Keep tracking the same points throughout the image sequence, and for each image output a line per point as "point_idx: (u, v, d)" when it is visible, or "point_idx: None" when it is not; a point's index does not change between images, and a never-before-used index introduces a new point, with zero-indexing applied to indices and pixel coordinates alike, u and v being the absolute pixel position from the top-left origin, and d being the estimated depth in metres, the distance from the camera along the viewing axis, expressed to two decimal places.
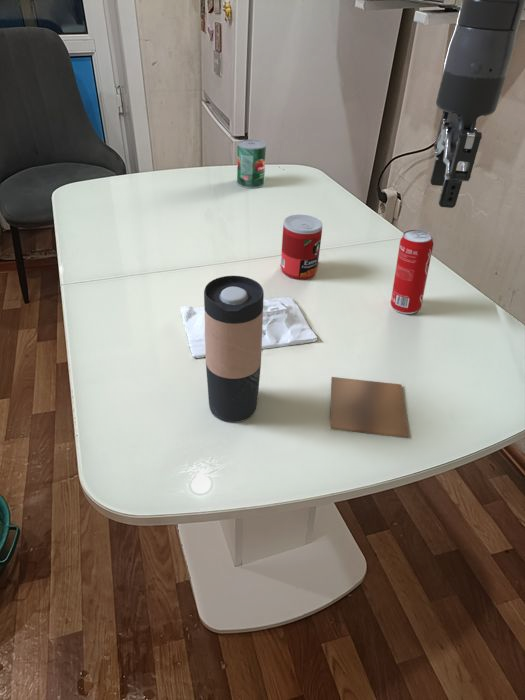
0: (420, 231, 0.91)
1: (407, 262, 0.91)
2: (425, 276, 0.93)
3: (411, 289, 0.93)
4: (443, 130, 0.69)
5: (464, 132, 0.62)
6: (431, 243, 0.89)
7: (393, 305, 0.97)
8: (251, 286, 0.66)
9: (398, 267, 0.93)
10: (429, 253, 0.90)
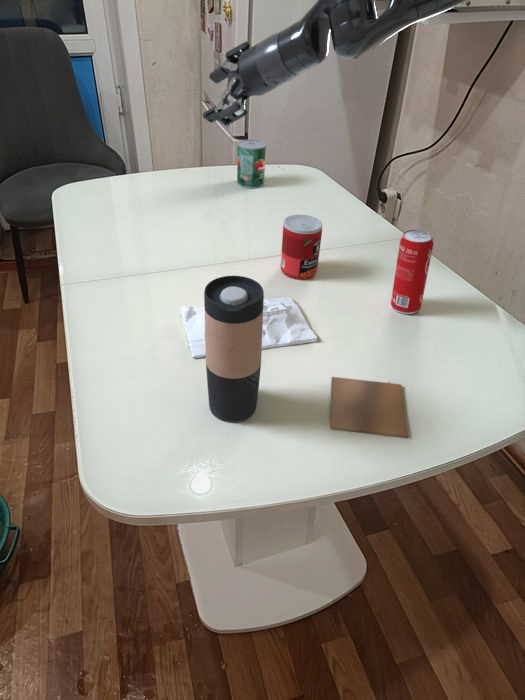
0: (420, 231, 0.91)
1: (407, 262, 0.91)
2: (425, 276, 0.93)
3: (411, 289, 0.93)
4: None
5: None
6: (431, 243, 0.89)
7: (393, 305, 0.97)
8: (251, 286, 0.66)
9: (398, 267, 0.93)
10: (429, 253, 0.90)
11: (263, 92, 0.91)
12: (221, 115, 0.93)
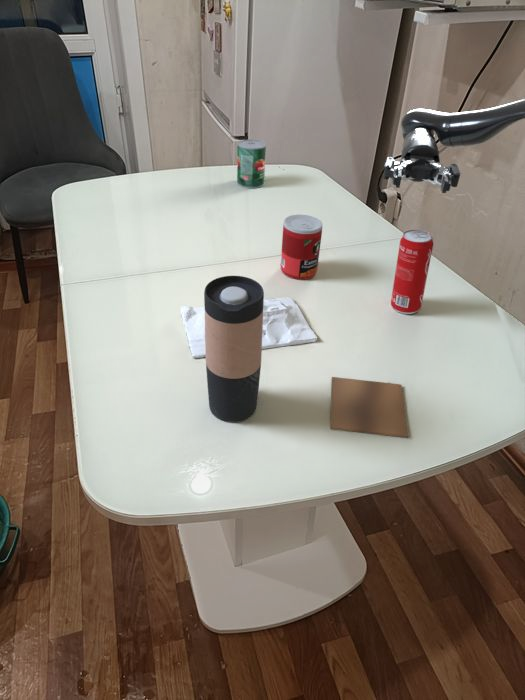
0: (420, 231, 0.91)
1: (407, 262, 0.91)
2: (425, 276, 0.93)
3: (411, 289, 0.93)
4: (418, 160, 1.01)
5: None
6: (431, 243, 0.89)
7: (393, 305, 0.97)
8: (251, 286, 0.66)
9: (398, 267, 0.93)
10: (429, 253, 0.90)
11: (405, 151, 1.05)
12: None
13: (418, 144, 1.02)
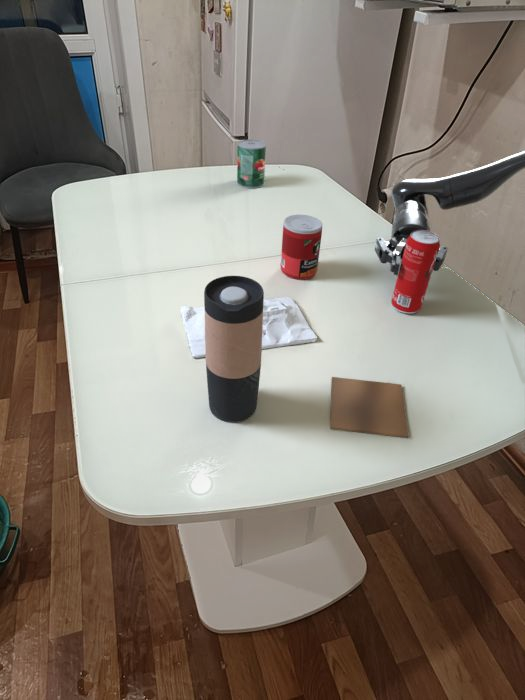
0: (427, 232, 0.91)
1: (412, 262, 0.90)
2: (429, 277, 0.92)
3: (414, 289, 0.93)
4: None
5: None
6: (438, 245, 0.89)
7: (394, 304, 0.97)
8: (251, 286, 0.66)
9: (403, 266, 0.92)
10: (435, 255, 0.89)
11: (395, 228, 1.02)
12: None
13: (408, 223, 1.00)
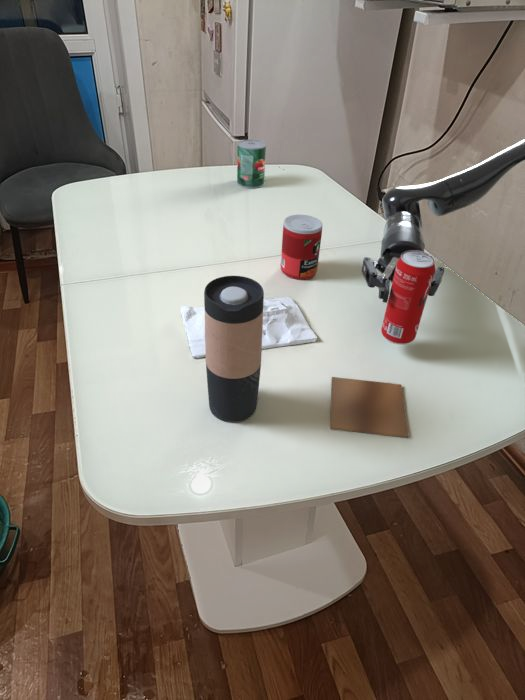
0: (420, 252, 0.78)
1: (403, 289, 0.78)
2: None
3: (407, 318, 0.80)
4: None
5: None
6: (433, 268, 0.76)
7: (384, 333, 0.85)
8: (251, 286, 0.66)
9: (393, 293, 0.80)
10: (430, 280, 0.77)
11: (384, 246, 0.89)
12: None
13: (399, 239, 0.87)
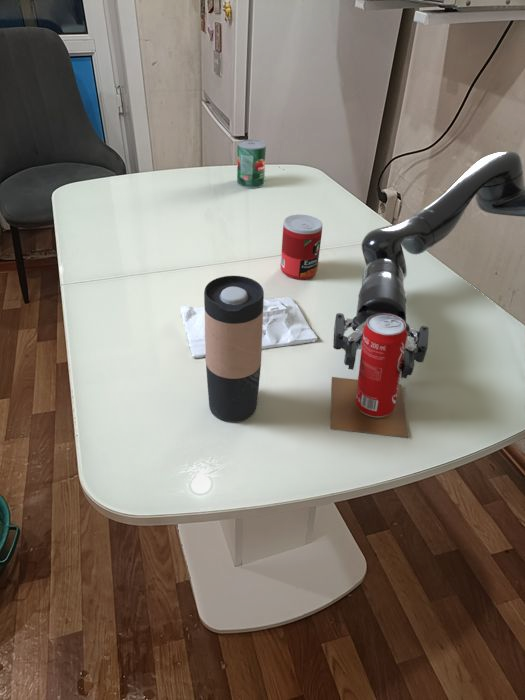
0: (390, 316, 0.69)
1: (372, 358, 0.68)
2: (398, 373, 0.70)
3: (380, 389, 0.71)
4: None
5: None
6: (404, 334, 0.67)
7: (358, 405, 0.75)
8: (251, 286, 0.66)
9: (362, 362, 0.70)
10: (402, 347, 0.67)
11: (361, 301, 0.79)
12: None
13: (377, 296, 0.77)
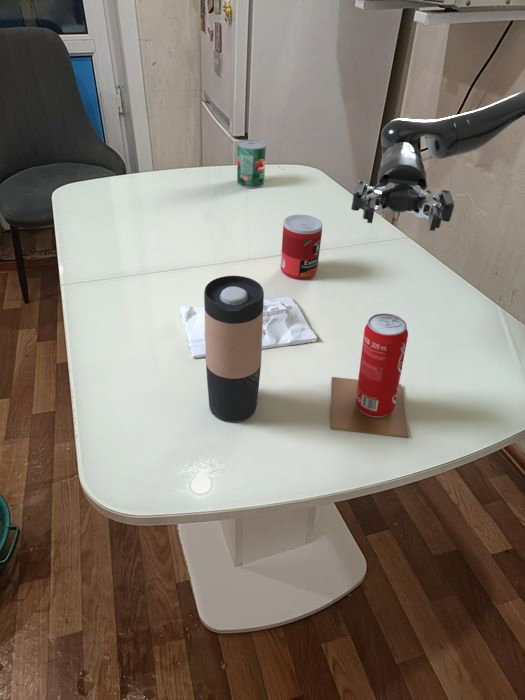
0: (391, 316, 0.69)
1: (373, 358, 0.68)
2: (398, 374, 0.70)
3: (381, 390, 0.71)
4: (398, 185, 0.76)
5: None
6: (405, 335, 0.67)
7: (358, 405, 0.75)
8: (251, 286, 0.66)
9: (363, 362, 0.70)
10: (402, 347, 0.67)
11: (381, 173, 0.80)
12: None
13: (398, 164, 0.78)
